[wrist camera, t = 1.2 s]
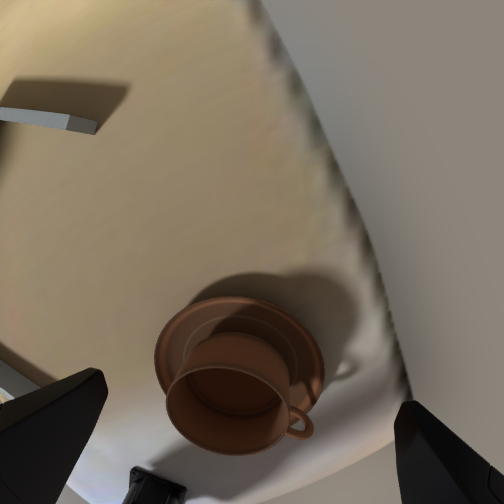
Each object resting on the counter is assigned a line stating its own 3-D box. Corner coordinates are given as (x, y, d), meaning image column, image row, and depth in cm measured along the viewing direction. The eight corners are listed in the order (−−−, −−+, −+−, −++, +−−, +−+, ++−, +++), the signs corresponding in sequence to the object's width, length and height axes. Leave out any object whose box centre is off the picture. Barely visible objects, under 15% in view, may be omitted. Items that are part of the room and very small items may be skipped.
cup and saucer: (341, 304, 21) (359, 348, 15) (300, 430, 24) (300, 485, 18) (168, 271, 22) (128, 303, 16) (161, 402, 24) (135, 450, 18)
